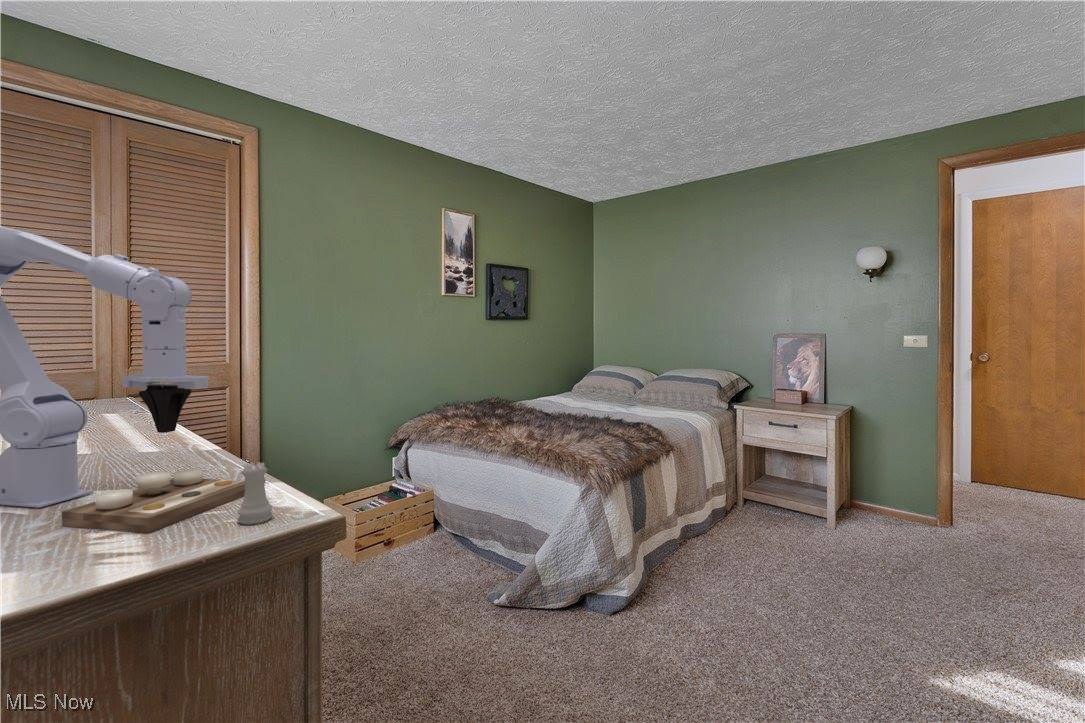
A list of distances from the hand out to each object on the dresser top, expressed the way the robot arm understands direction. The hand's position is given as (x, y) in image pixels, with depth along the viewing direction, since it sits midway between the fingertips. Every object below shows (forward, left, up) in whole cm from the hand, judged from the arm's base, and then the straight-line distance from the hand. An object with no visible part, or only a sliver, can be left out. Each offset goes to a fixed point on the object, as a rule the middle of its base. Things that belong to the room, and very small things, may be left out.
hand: (166, 431), depth 83 cm
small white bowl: (+4, 0, -10) cm, 10 cm away
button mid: (+4, -6, -8) cm, 11 cm away
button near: (+4, -12, -10) cm, 16 cm away
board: (+6, -6, -10) cm, 13 cm away
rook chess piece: (+23, -8, -11) cm, 27 cm away
